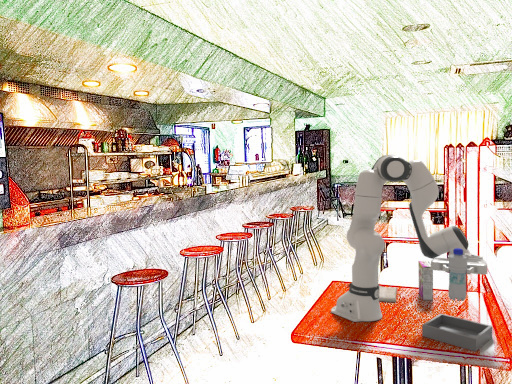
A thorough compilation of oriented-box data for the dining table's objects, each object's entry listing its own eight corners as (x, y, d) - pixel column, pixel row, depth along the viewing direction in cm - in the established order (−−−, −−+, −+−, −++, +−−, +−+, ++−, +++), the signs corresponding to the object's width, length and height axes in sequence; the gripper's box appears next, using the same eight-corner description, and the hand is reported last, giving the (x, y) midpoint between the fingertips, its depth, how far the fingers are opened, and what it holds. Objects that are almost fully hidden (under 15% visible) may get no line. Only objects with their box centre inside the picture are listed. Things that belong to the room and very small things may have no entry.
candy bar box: (417, 292, 228) (418, 260, 226) (428, 293, 227) (428, 260, 225) (422, 300, 217) (422, 266, 215) (433, 300, 216) (433, 266, 214)
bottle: (468, 302, 171) (469, 250, 169) (449, 302, 173) (450, 250, 170) (464, 296, 178) (465, 246, 176) (446, 296, 179) (447, 246, 177)
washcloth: (397, 291, 232) (396, 285, 231) (396, 303, 215) (396, 297, 214) (372, 290, 235) (372, 284, 235) (370, 301, 218) (370, 295, 218)
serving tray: (422, 336, 177) (422, 324, 177) (440, 323, 188) (440, 313, 188) (475, 351, 163) (476, 339, 162) (492, 337, 174) (492, 326, 173)
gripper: (431, 252, 190) (428, 260, 177) (486, 256, 181) (487, 265, 168) (431, 267, 190) (428, 276, 178) (486, 272, 181) (487, 282, 169)
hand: (457, 271), depth 173 cm, fingers closed on bottle, 6 cm apart
